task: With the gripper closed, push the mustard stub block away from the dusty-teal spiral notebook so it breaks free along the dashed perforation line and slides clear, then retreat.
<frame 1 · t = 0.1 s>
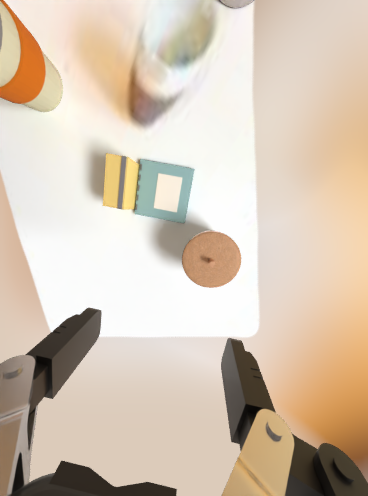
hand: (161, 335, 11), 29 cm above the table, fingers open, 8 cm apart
stub: (122, 184, 34), point 3 cm above the table, slide at 0.0 cm
spiral notebook: (163, 192, 37), on the table
reusable coffee cup: (41, 86, 34), on the table
lidded jar: (208, 250, 39), on the table
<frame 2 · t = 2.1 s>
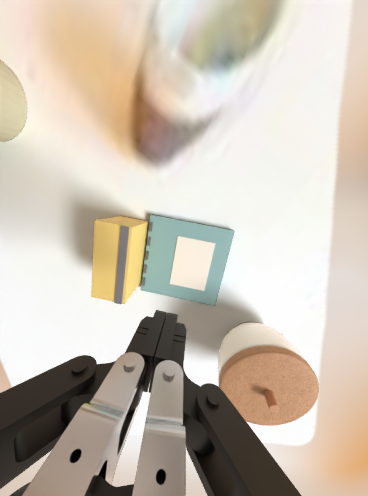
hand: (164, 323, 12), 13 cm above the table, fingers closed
stub: (121, 256, 22), point 3 cm above the table, slide at 0.0 cm
spiral notebook: (184, 260, 24), on the table
lidded jar: (248, 338, 27), on the table
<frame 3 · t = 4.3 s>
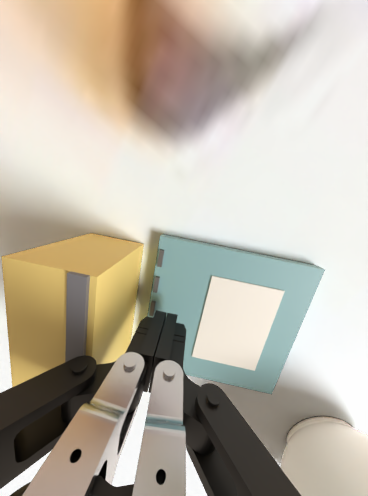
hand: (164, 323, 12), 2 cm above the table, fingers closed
stub: (88, 316, 11), point 3 cm above the table, slide at 1.0 cm, touching gripper
spiral notebook: (219, 315, 14), on the table
lidded jar: (319, 437, 16), on the table
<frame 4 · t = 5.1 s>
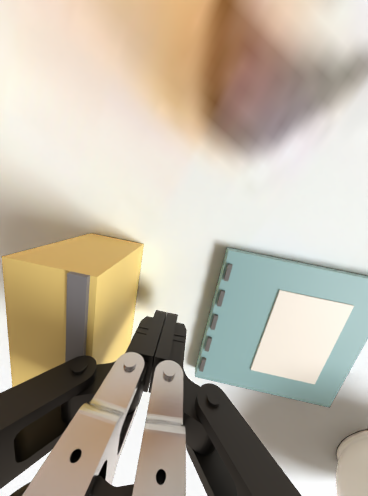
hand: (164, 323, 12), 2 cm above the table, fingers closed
stub: (88, 316, 11), point 3 cm above the table, slide at 5.6 cm, touching gripper
spiral notebook: (279, 328, 13), on the table
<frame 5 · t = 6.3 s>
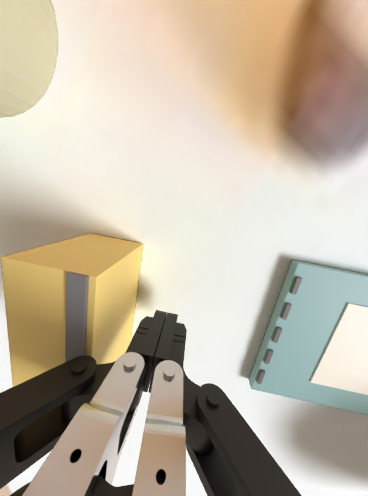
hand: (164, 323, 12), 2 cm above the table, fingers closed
stub: (88, 317, 11), point 3 cm above the table, slide at 10.2 cm, touching gripper
spiral notebook: (339, 340, 13), on the table
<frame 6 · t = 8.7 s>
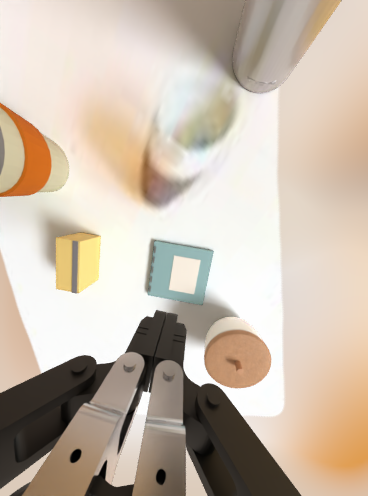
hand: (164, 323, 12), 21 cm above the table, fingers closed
stub: (79, 261, 31), point 3 cm above the table, slide at 10.3 cm
spiral notebook: (179, 272, 34), on the table
reusable coffee cup: (46, 166, 31), on the table
lidded jar: (228, 329, 36), on the table
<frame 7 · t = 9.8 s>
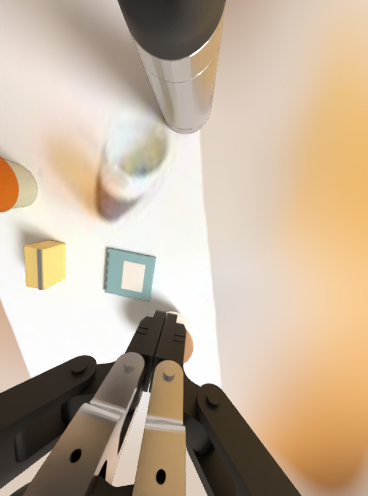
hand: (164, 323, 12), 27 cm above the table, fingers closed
stub: (46, 263, 39), point 3 cm above the table, slide at 10.3 cm
spiral notebook: (130, 274, 41), on the table
reusable coffee cup: (19, 186, 38), on the table
lidded jar: (172, 321, 43), on the table
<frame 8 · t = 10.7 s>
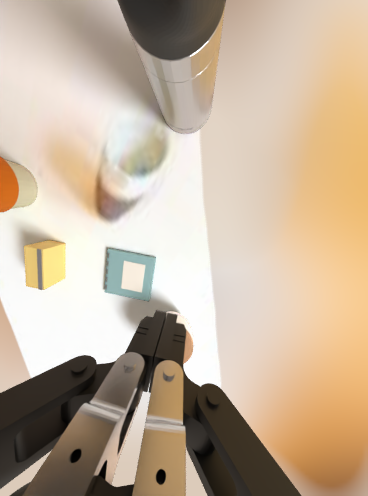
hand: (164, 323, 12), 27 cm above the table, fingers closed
stub: (46, 263, 39), point 3 cm above the table, slide at 10.3 cm
spiral notebook: (130, 274, 41), on the table
reusable coffee cup: (19, 186, 38), on the table
lidded jar: (172, 321, 43), on the table
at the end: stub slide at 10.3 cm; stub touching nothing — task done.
